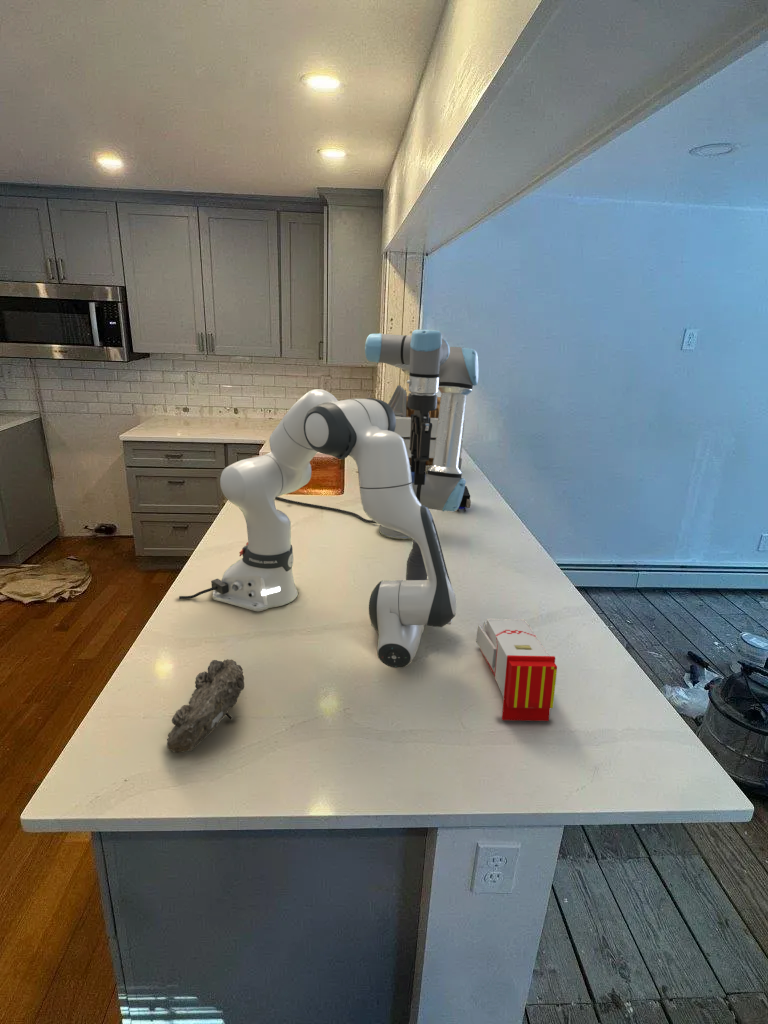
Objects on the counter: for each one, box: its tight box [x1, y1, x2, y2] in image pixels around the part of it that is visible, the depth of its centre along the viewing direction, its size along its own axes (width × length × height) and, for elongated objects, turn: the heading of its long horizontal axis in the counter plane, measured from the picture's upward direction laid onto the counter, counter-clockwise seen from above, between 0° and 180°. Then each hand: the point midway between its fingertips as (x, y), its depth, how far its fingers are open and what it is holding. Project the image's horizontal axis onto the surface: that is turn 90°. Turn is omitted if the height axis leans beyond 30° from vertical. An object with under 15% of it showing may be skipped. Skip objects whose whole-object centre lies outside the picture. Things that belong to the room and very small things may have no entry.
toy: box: [475, 618, 558, 722], centre depth 122 cm, size 12×13×30 cm
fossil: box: [166, 658, 245, 754], centre depth 106 cm, size 22×10×15 cm
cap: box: [411, 472, 427, 483], centre depth 151 cm, size 4×4×2 cm
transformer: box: [387, 384, 465, 472], centre depth 268 cm, size 34×33×41 cm
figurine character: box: [456, 485, 472, 513], centre depth 228 cm, size 7×8×15 cm
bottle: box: [405, 539, 428, 580], centre depth 144 cm, size 5×5×21 cm
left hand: (415, 592), depth 146 cm, fingers closed on bottle, 5 cm apart
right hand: (417, 481), depth 152 cm, fingers closed on cap, 4 cm apart
